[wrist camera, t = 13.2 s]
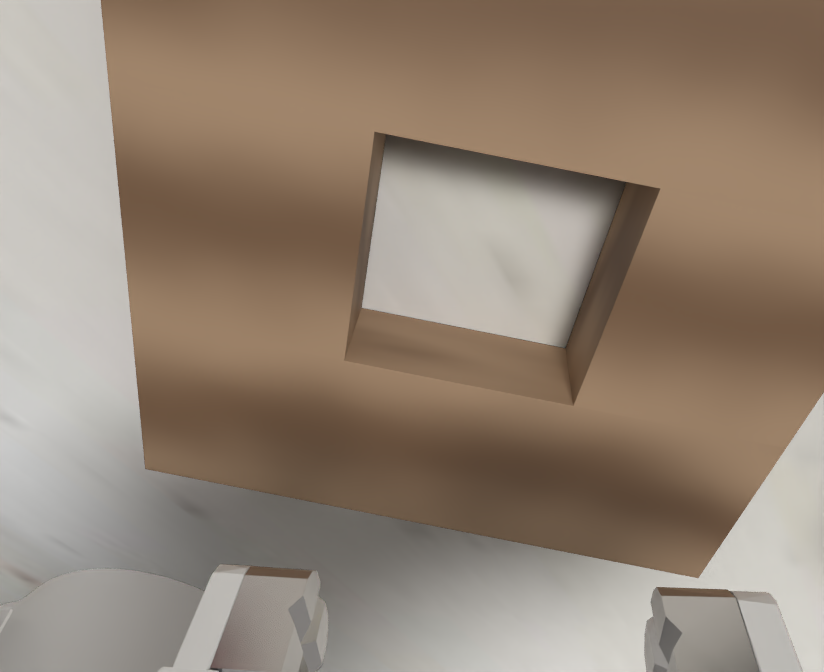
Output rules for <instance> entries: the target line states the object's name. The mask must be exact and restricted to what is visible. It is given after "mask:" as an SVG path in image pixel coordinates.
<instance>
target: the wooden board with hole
mask: <svg viewBox="0 0 824 672" xmlns="http://www.w3.org/2000/svg"><path fill="white" fill-rule="evenodd" d="M101 8H102V18H103V29H104V39H105V50H106V60H107V71H108V81H109V92H110V102H111V113H112V123H113V134H114V144H115V155H116V165H117V176H118V186H119V197H120V207H121V218H122V228H123V239H124V249H125V260H126V270H127V281H128V292H129V302H130V313H131V323H132V334H133V344H134V355H135V365H136V376H137V386H138V397H139V407H140V418H141V428H142V439H143V449H144V460H145V469H148V470H153V471H159V472H164V473H169V474H174V475H179V476H184V477H189V478H194V479H199V480H204V481H209V482H214V483H219V484H224V485H229V486H234V487H240V488H245V489H250V490H255V491H260V492H265V493H270V494H275V495H280V496H285V497H290V498H295V499H300V500H305V501H310V502H316V503H321V504H326V505H331V506H336V507H341V508H346V509H351V510H356V511H361V512H366V513H371V514H376V515H381V516H386V517H391V518H397V519H402V520H407V521H412V522H417V523H422V524H427V525H432V526H437V527H442V528H447V529H452V530H457V531H462V532H467V533H473V534H478V535H483V536H488V537H493V538H498V539H503V540H508V541H513V542H518V543H523V544H528V545H533V546H538V547H543V548H549V549H554V550H559V551H564V552H569V553H574V554H579V555H584V556H589V557H594V558H599V559H604V560H609V561H614V562H619V563H624V564H630V565H635V566H640V567H645V568H650V569H655V570H660V571H665V572H670V573H675V574H680V575H685V576H690V577H695V578H699V576H700V575H701V573H702V572H703V570H704V569H705V567H706V566H707V564H708V563H709V561H710V560H711V558H712V557H713V555H714V554H715V552H716V551H717V549H718V548H719V547H720V545H721V544H722V542H723V541H724V539H725V538H726V536H727V535H728V533H729V532H730V530H731V529H732V527H733V526H734V524H735V523H736V521H737V520H738V518H739V517H740V515H741V514H742V512H743V511H744V510H745V508H746V507H747V505H748V504H749V502H750V501H751V499H752V498H753V496H754V495H755V493H756V492H757V490H758V489H759V487H760V486H761V484H762V483H763V481H764V480H765V478H766V477H767V475H768V474H769V473H770V471H771V470H772V468H773V467H774V465H775V464H776V462H777V461H778V459H779V458H780V456H781V455H782V453H783V452H784V450H785V449H786V447H787V446H788V444H789V443H790V441H791V440H792V438H793V437H794V435H795V434H796V433H797V431H798V430H799V428H800V427H801V425H802V424H803V422H804V421H805V419H806V418H807V416H808V415H809V413H810V412H811V410H812V409H813V407H814V406H815V404H816V403H817V401H818V400H819V398H820V397H821V396H822V394H823V393H824V0H101ZM386 134H389V135H394V136H399V137H404V138H409V139H414V140H419V141H424V142H429V143H434V144H439V145H444V146H449V147H454V148H459V149H464V150H469V151H474V152H479V153H484V154H489V155H494V156H499V157H504V158H509V159H514V160H519V161H524V162H529V163H534V164H539V165H544V166H549V167H554V168H559V169H564V170H569V171H574V172H579V173H585V174H590V175H595V176H600V177H605V178H610V179H615V180H620V181H625V182H626V185H625V188H624V191H623V193H622V196H621V199H620V202H619V204H618V207H617V210H616V212H615V215H614V218H613V221H612V223H611V226H610V229H609V232H608V234H607V237H606V240H605V242H604V245H603V248H602V251H601V253H600V256H599V259H598V261H597V264H596V267H595V270H594V272H593V275H592V278H591V281H590V283H589V286H588V289H587V291H586V294H585V297H584V300H583V302H582V305H581V308H580V310H579V313H578V316H577V319H576V321H575V324H574V327H573V330H572V332H571V335H570V338H569V340H568V343H567V346H566V348H561V347H555V346H550V345H545V344H540V343H535V342H530V341H525V340H520V339H515V338H510V337H505V336H500V335H495V334H490V333H485V332H480V331H475V330H470V329H465V328H460V327H455V326H450V325H444V324H439V323H434V322H429V321H424V320H419V319H414V318H409V317H404V316H399V315H394V314H389V313H384V312H379V311H374V310H369V309H364V308H361V307H362V300H363V293H364V286H365V279H366V272H367V265H368V258H369V251H370V244H371V237H372V230H373V223H374V216H375V209H376V202H377V195H378V188H379V181H380V174H381V167H382V160H383V153H384V146H385V139H386Z"/></svg>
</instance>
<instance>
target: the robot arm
mask: <svg viewBox="0 0 824 672" xmlns="http://www.w3.org/2000/svg"><path fill="white" fill-rule="evenodd" d="M320 586H321V582H320V579H319V575H318V572H317V570H303V569H288V568H273V567H258V566H247V565H227V564H220V565H219V566H218V567H217V568H216V570H215V571H214V572H213V573H212V575H211V577H210V579H209V581H208V584H207V586H206V589H205V591H203V590H201V589H199V588H196V587H194V586H191V585H189V584H186V583H183V582H180V581H177V580H174V579H171V578H167V577H164V576H160V575H156V574H151V573H146V572H140V571H134V570H126V569H112V568H99V569H85V570H79V571H74V572H70V573H66V574H63V575H60V576H57V577H55V578H53V579H51V580H49V581H47V582H45V583H43V584H42V585H40V586H39V587H38V588H36V589H35V590H34V591H32V592H31V593H30V594H29V595H27V596H26V597H24V598H23V599H21V600H19V601H14V602H9V603H5V604H1V605H0V672H317V670H318V669H319V668H320V667H321V666H322V664H323V660H324V655H325V651H326V646H327V636H328V626H329V625H328V611H327V606H326V602H325V601H324V600H323V599H321V598H320V597H319V596H318V594H319V590H320ZM651 607H652V612H653V617H652V618H650V619H649V620H647V623H646V629H645V642H644V655H645V664H646V672H803V670H802V667H801V665H800V662H799V659H798V657H797V654H796V652H795V649H794V646H793V644H792V641H791V638H790V636H789V633H788V630H787V628H786V625H785V622H784V620H783V617H782V614H781V612H780V609H779V607H778V604H777V601H776V600H775V599H774V598H773V596H772V595H771V594H770V593H766V592H744V591H728V590H723V589H695V588H667V587H656V588H655V589H654V591H653V594H652V598H651Z"/></svg>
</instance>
